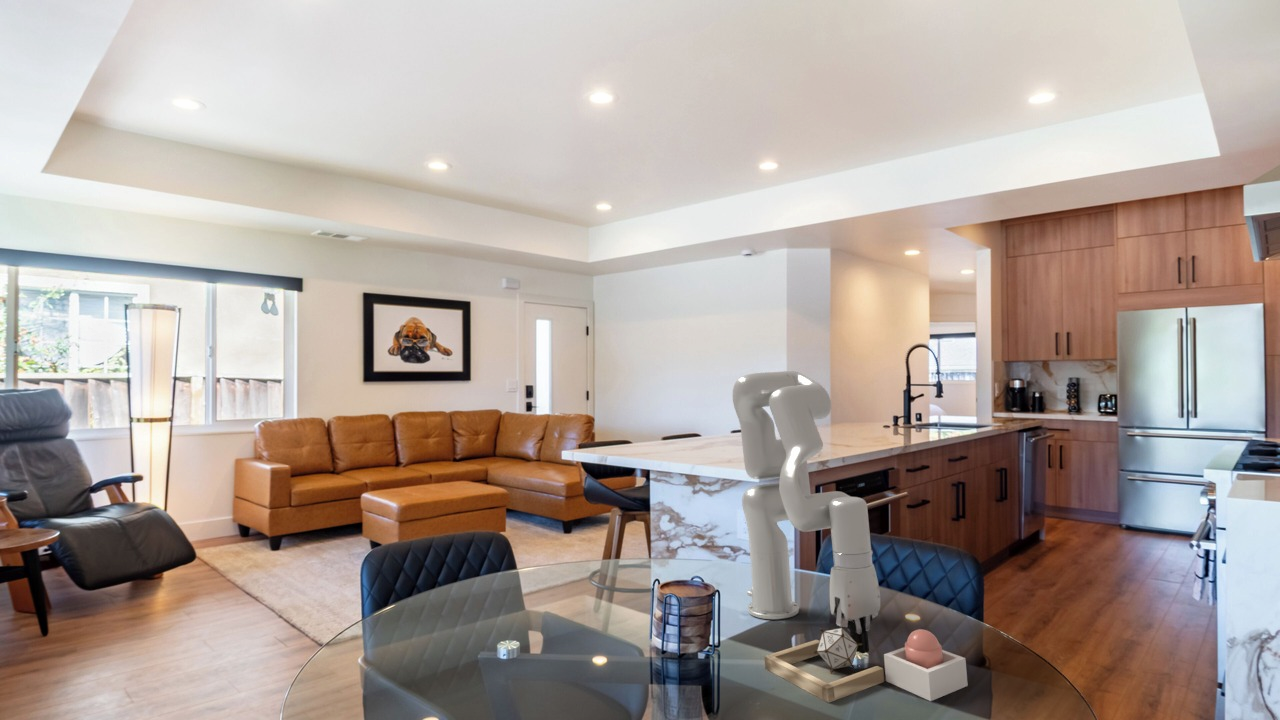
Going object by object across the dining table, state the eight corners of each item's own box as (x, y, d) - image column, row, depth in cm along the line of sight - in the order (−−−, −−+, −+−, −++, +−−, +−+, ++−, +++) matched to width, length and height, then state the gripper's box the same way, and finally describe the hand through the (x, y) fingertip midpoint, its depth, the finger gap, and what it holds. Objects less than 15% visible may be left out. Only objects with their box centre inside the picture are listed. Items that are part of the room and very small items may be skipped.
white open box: (886, 681, 128) (883, 654, 128) (922, 667, 133) (920, 641, 133) (930, 701, 119) (928, 672, 120) (967, 685, 124) (965, 658, 124)
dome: (898, 660, 128) (896, 629, 128) (921, 651, 131) (919, 621, 131) (927, 672, 122) (924, 639, 122) (950, 662, 125) (948, 631, 125)
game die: (849, 690, 133) (863, 661, 128) (806, 673, 135) (818, 643, 130) (854, 652, 140) (868, 622, 135) (814, 636, 143) (825, 607, 137)
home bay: (765, 668, 137) (764, 656, 137) (817, 651, 144) (816, 639, 144) (828, 702, 121) (827, 688, 121) (884, 681, 128) (883, 668, 128)
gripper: (864, 549, 145) (872, 636, 144) (812, 562, 137) (819, 654, 137) (892, 555, 138) (901, 647, 137) (839, 569, 131) (847, 666, 130)
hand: (860, 650), depth 137 cm, fingers closed
